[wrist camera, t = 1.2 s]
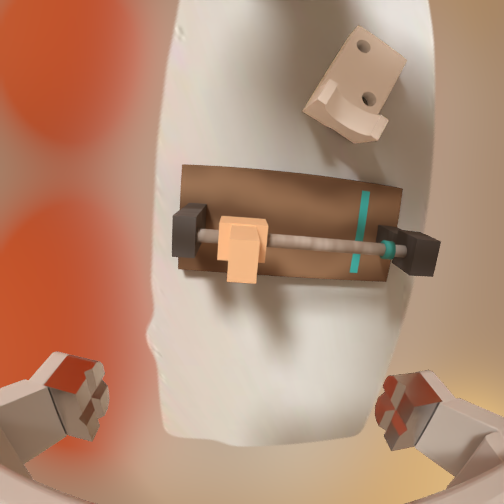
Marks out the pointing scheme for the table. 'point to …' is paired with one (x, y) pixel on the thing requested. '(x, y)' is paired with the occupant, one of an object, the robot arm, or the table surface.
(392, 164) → the table surface
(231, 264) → the orange l-shaped block
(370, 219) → the linear slide rail
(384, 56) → the bracket
